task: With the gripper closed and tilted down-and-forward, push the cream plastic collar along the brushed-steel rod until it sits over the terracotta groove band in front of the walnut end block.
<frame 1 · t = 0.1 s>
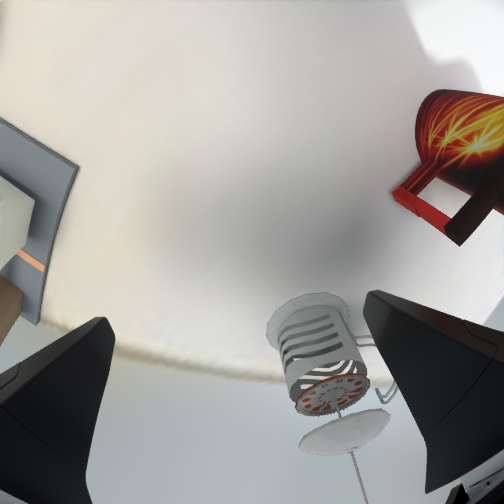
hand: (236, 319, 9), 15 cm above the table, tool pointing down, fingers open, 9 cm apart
rod stand: (13, 211, 19), on the table
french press: (315, 322, 30), on the table
mug: (440, 152, 21), on the table
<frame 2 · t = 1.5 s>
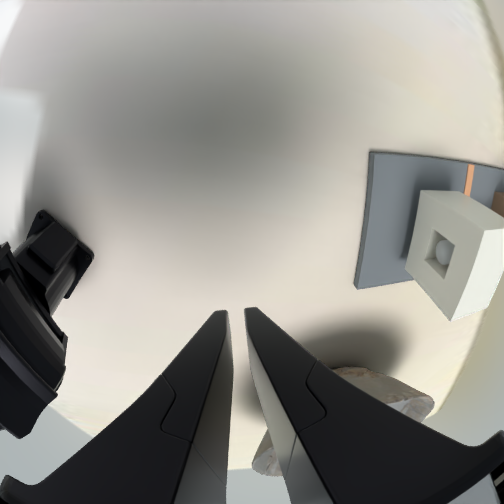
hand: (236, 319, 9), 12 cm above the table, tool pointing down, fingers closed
sleeve: (459, 250, 17), point 5 cm above the table, slide at 0.0 cm
rod stand: (432, 220, 22), on the table
ceramic bowl: (326, 386, 33), on the table
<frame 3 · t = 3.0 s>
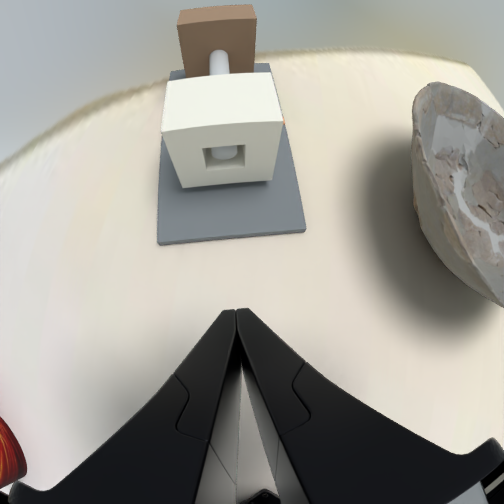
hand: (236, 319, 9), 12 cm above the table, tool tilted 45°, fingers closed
sleeve: (222, 131, 19), point 5 cm above the table, slide at 0.0 cm
rod stand: (225, 156, 24), on the table
ceramic bowl: (452, 224, 24), on the table
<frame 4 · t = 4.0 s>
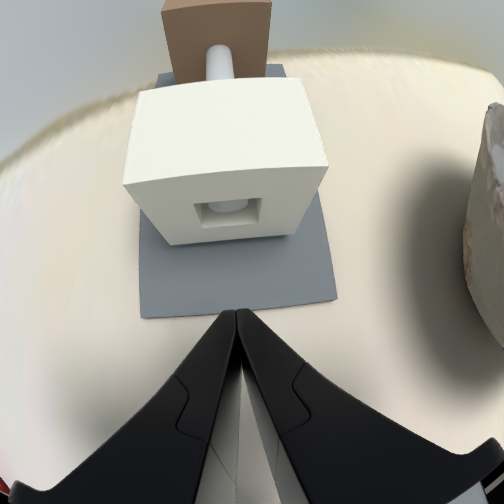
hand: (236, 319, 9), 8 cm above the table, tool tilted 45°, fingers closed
sleeve: (225, 167, 13), point 6 cm above the table, slide at 0.0 cm
rod stand: (228, 193, 19), on the table
ceramic bowl: (492, 270, 18), on the table
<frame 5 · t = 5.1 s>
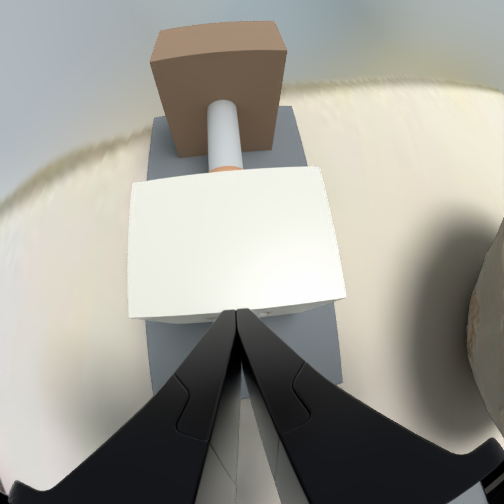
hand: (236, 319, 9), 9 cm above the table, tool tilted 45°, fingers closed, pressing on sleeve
sleeve: (233, 261, 13), point 5 cm above the table, slide at 1.0 cm, touching gripper
rod stand: (235, 274, 18), on the table
ceramic bowl: (494, 326, 17), on the table
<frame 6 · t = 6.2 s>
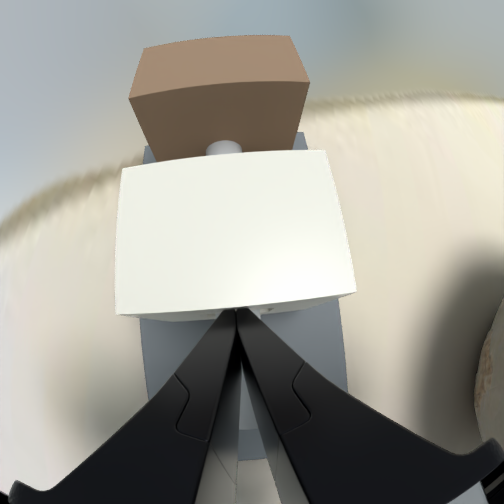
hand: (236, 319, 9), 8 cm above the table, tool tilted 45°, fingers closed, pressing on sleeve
sleeve: (231, 254, 12), point 6 cm above the table, slide at 5.2 cm, touching gripper
rod stand: (241, 337, 16), on the table
ceramic bowl: (501, 366, 15), on the table
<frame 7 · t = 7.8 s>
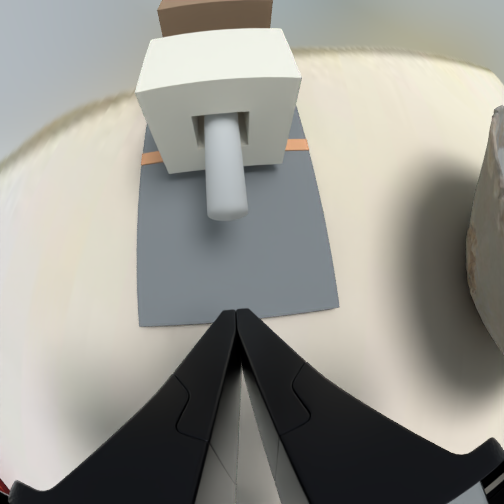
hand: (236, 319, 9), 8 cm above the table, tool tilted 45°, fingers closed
sleeve: (219, 100, 14), point 6 cm above the table, slide at 5.2 cm
rod stand: (227, 197, 18), on the table
ceramic bowl: (494, 274, 18), on the table
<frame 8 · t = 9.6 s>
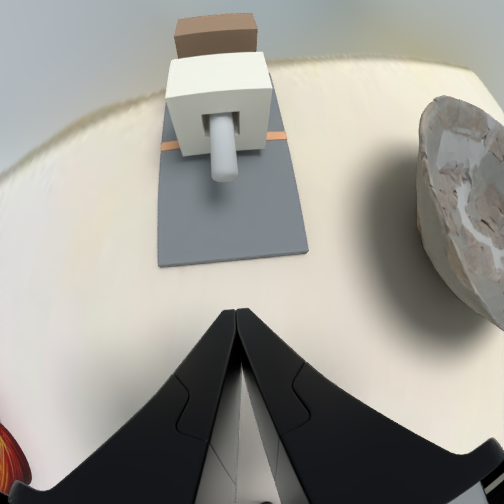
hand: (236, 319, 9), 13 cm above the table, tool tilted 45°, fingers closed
sleeve: (220, 103, 20), point 5 cm above the table, slide at 5.2 cm
rod stand: (225, 174, 24), on the table
ceramic bowl: (454, 239, 24), on the table
mug: (0, 438, 15), on the table
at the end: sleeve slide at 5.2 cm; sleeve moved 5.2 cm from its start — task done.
